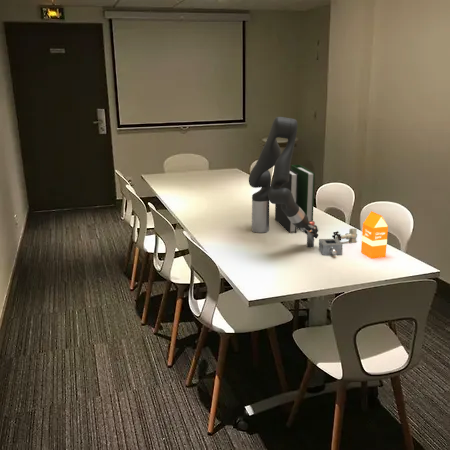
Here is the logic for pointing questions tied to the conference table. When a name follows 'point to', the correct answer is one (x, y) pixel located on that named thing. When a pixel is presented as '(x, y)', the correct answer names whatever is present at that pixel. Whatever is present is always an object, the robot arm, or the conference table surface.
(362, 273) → the conference table surface
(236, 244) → the conference table surface
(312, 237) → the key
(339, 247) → the grey box
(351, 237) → the valve
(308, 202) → the binder
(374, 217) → the orange juice
